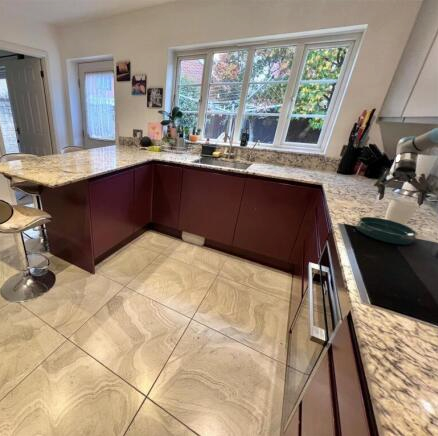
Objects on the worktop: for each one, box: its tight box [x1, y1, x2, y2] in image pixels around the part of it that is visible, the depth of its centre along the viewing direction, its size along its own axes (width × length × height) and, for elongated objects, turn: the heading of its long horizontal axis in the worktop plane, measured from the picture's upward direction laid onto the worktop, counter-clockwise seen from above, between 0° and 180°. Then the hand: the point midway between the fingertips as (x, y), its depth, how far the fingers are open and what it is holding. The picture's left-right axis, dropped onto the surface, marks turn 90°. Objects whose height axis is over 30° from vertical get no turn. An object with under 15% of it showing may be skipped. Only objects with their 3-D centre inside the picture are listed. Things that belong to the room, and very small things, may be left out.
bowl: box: [355, 216, 418, 246], centre depth 100 cm, size 18×18×4 cm
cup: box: [384, 198, 420, 225], centre depth 108 cm, size 9×9×12 cm
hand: (400, 201), depth 110 cm, fingers open, 13 cm apart
